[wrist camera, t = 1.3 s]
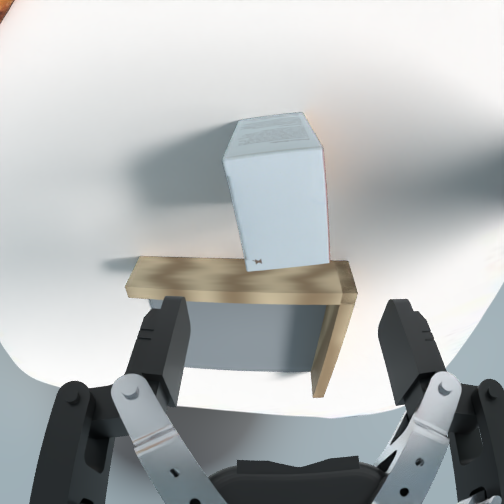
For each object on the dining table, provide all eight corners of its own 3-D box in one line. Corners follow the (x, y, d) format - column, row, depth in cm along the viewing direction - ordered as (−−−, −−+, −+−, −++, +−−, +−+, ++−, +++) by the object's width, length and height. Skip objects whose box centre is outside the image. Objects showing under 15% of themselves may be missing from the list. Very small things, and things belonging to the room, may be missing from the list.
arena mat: (332, 271, 34) (332, 274, 34) (310, 369, 45) (310, 371, 45) (142, 267, 35) (141, 269, 34) (171, 363, 46) (171, 365, 46)
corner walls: (348, 260, 33) (357, 293, 29) (320, 369, 45) (323, 397, 41) (139, 256, 34) (124, 286, 30) (171, 363, 46) (165, 391, 42)
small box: (313, 195, 29) (331, 266, 20) (252, 201, 30) (246, 275, 21) (304, 109, 24) (326, 146, 16) (237, 118, 25) (220, 159, 16)
